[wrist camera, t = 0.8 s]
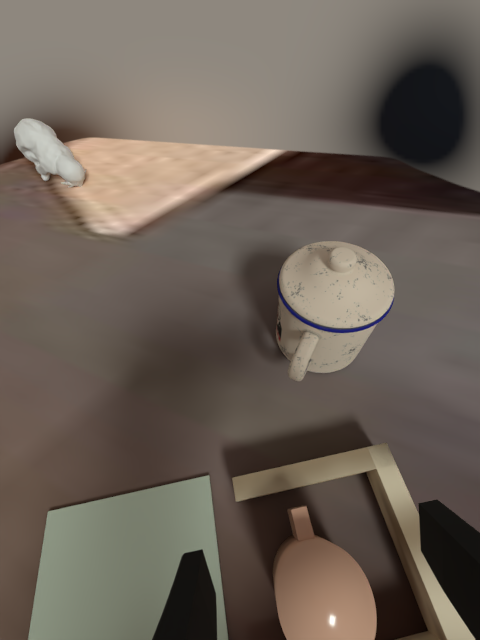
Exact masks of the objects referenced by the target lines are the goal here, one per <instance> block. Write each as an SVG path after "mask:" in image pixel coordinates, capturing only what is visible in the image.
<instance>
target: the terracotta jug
mask: <svg viewBox="0 0 480 640" xmlns="http://www.w3.org/2000/svg"><path fill="white" fill-rule="evenodd" d="M287 511H288V515H289V519H290V524H291V528H292V532H293V535H291V536H290V537H288V538H287V539H286V540H285V541H284V542H283V543H282V544H281V546H280V547H279V549H278V551H277V553H276V556H275V559H274V564H273V583H274V590H275V597H276V603H277V610H278V616H279V620H280V624H281V627H282V630H283V632H284V635H285V637H286V639H287V640H374V639H375V635H376V627H377V615H376V606H375V600H374V596H373V593H372V590H371V587H370V584H369V582H368V580H367V578H366V576H365V574H364V572H363V571H362V569H361V567H360V566H359V565H358V563H357V562H356V561H355V560H354V559H353V558H352V557H351V556H350V555H349V554H348V553H347V552H346V551H345V550H343V549H342V548H340V547H339V546H337V545H335V544H333V543H331V542H329V541H327V540H326V539H324V538H322V537H320V536H318V535H316V534H314V533H313V529H312V525H311V522H310V518H309V514H308V511H307V507H306V506H298V507H294V508H290V509H287Z"/></svg>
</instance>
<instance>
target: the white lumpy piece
mask: <svg viewBox="0 0 480 640" xmlns="http://www.w3.org/2000/svg"><path fill="white" fill-rule="evenodd" d="M14 135H15V139H16V146H17V147H18V148H19V150H20V151H21V152H22V153H23V154H24V156H25V157H26V158H27V159H29V160H30V161H32V162H34V163H35V165H36V166H37V167H36V170H37V171H38V172H39V173H40V174H41V177H42V179H43V180H44V181H48V180H49V178H50V175H51V174H53V175H59V176H61V177H62V178H63V179H64V180H66V181H67V182H68V183H67V182H66V181H65V182H64V183H63V184H65V185H70V187H73V186H79V187H81V186H82V185H83V181H84V180H85V172H86V169H85V172H84V169H83V167H82V165H81V164H80V163H79V162H78V161H76V160H75V159H74V156H73V154H72V152H71V150H70V149H69V148H68V147H67V146H65V145H64V144H63V143H62V142H61V141H60V140H58V139H57V138H56V134H55V132H54V130H53V129H52V128H50V127H49V126H47V125H45V124H44V123H43V122H41V121H38V120H34V119H23V120H21V121H20V122H19V123H18V125H17V126H16V127H15V129H14ZM61 183H62V182H61ZM67 188H69V186H68V187H67Z"/></svg>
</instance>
